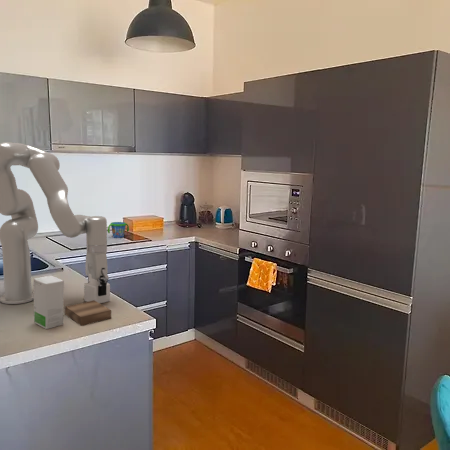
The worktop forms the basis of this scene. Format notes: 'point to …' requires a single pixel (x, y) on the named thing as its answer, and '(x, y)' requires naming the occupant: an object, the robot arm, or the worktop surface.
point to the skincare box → (48, 301)
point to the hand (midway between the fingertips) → (97, 292)
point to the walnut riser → (87, 312)
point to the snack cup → (118, 229)
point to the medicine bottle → (95, 291)
